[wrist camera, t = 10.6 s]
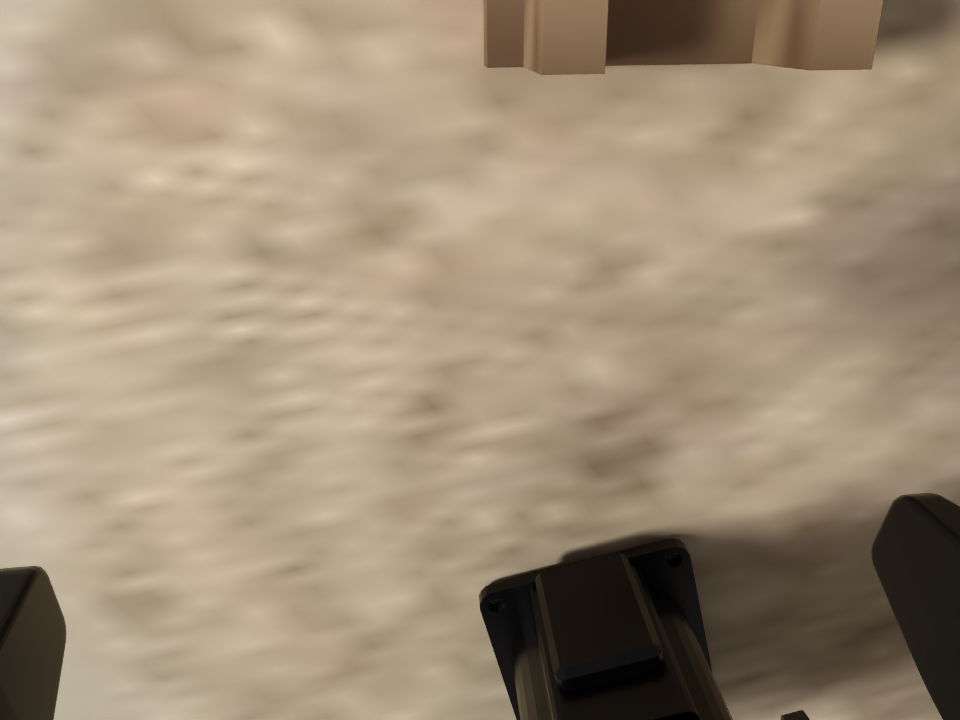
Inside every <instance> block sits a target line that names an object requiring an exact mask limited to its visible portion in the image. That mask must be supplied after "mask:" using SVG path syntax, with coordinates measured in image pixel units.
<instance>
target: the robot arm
mask: <svg viewBox="0 0 960 720" xmlns="http://www.w3.org/2000/svg"><path fill="white" fill-rule="evenodd" d="M871 551H872V560H873V564H874V567H875V570H876V572H877V574H878V577H879V579H880V581H881V584H882V586H883V588H884V591H885V593H886V595H887V598H888V600H889V603H890V605H891V607H892V610H893V612H894V614H895V617H896V619H897V621H898V624H899V626H900V628H901V631H902V633H903V635H904V638H905V640H906V642H907V645H908V647H909V649H910V652H911V654H912V656H913V659H914V661H915V663H916V666H917V668H918V670H919V672H920V675H921V677H922V679H923V681H924V683H925V686H926V688H927V690H928V692H929V694H930V696H931V698H932V700H933V702H934V703H935V705H936V707H937V709H938V711H939V713H940V715H941V717H942V719H943V720H960V507H959V506H958V505H956V504H954V503H952V502H951V501H949V500H947V499H945V498H944V497H942V496H940V495H937V494H932V493H922V494H910V495H902V496H899V497H898V498H897V499H895V500H894V502H893V503H892V505H891V507H890V509H889V511H888V513H887V515H886V517H885V519H884V521H883V523H882V525H881V527H880V529H879V531H878V533H877V535H876V537H875V539H874V541H873V544H872V550H871ZM676 553H677V556H676V557H675V558H673V559H666V558H667V557H668V556H669V555H671V554H676ZM493 599H500V600H502V601H501V602H499V603H496V604H493V603H490V601H491V600H493ZM479 601H480V610H481V613H482V616H483V619H484V622H485V625H486V628H487V631H488V634H489V637H490V640H491V643H492V646H493V649H494V652H495V655H496V659H497V662H498V665H499V668H500V671H501V674H502V677H503V680H504V683H505V686H506V689H507V692H508V695H509V698H510V701H511V704H512V707H513V710H514V713H515V716H516V719H517V720H733V719H732V717H731V715H730V712H729V710H728V708H727V706H726V703H725V701H724V699H723V697H722V694H721V692H720V690H719V688H718V685H717V683H716V681H715V679H714V676H713V674H712V669H711V664H710V658H709V653H708V648H707V643H706V637H705V632H704V627H703V621H702V616H701V611H700V606H699V600H698V595H697V590H696V585H695V579H694V574H693V569H692V563H691V558H690V555H689V553H688V551H687V549H686V547H685V545H684V543H683V542H681V541H680V540H677V539H666V540H662V541H659V542H655V543H651V544H647V545H643V546H639V547H635V548H631V549H627V550H623V551H619V552H616V553H612V554H608V555H604V556H600V557H596V558H592V559H588V560H584V561H580V562H577V563H573V564H569V565H565V566H561V567H557V568H553V569H549V570H545V571H541V572H537V573H534V574H530V575H526V576H522V577H518V578H514V579H510V580H506V581H502V582H498V583H494V584H491V585H489V586H486V587H485V588H484V589H483V590H482V591H481V593H480V595H479ZM65 643H66V625H65V620H64V616H63V614H62V611H61V608H60V606H59V603H58V600H57V598H56V595H55V593H54V590H53V587H52V585H51V582H50V579H49V577H48V575H47V573H46V571H45V570H44V569H43V568H41V567H38V566H27V567H15V568H4V569H0V720H53V719H54V713H55V706H56V700H57V694H58V688H59V681H60V675H61V669H62V663H63V657H64V650H65ZM781 720H810V719H809V718H808V717H807V715H806V714H805V713H804V711H803V710H800V711H796V712H793V713H789V714H785V715H781Z"/></svg>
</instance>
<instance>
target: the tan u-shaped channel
mask: <svg viewBox="0 0 960 720" xmlns="http://www.w3.org/2000/svg"><path fill="white" fill-rule="evenodd" d="M882 5H883V0H484V65H485V66H486V67H488V68H493V67H525V68H527V69H529V70H532V71H534V72H537V73H539V74H541V75H560V74H605V66H618V65H680V64H743V63H753V64H761V65H770V66H778V67H787V68H795V69H804V70H861V69H872V64H873V58H874V52H875V46H876V40H877V35H878V29H879V23H880V17H881V11H882Z"/></svg>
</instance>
